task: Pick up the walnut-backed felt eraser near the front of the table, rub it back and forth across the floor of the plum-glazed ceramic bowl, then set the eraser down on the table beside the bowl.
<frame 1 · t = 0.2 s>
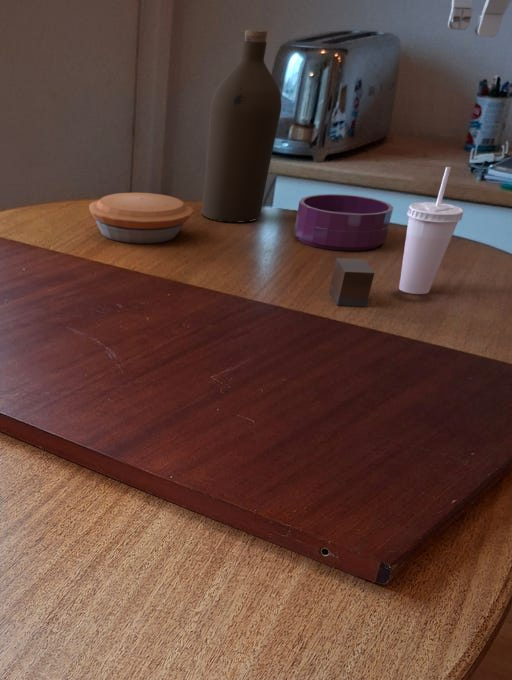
hand: (470, 32, 87), 28 cm above the table, tool pointing down, fingers open, 8 cm apart
bowl: (338, 240, 132), on the table
pie: (138, 235, 133), on the table
eraser: (347, 298, 109), on the table
smoothie: (413, 291, 113), on the table
olive oil: (230, 217, 143), on the table
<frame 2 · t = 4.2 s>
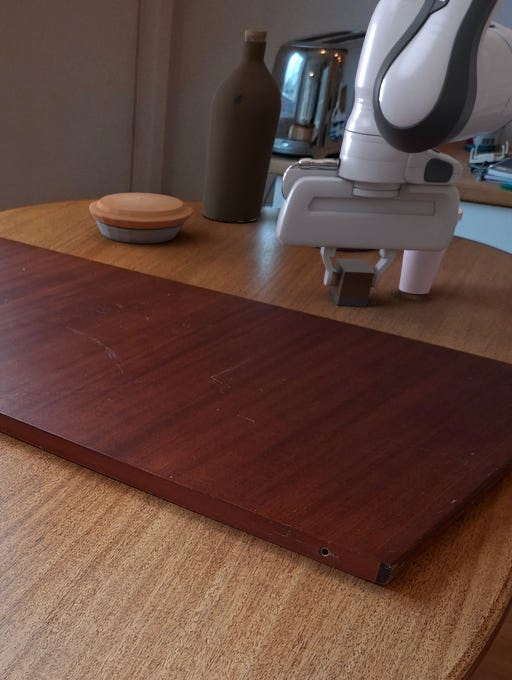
hand: (350, 285, 108), 2 cm above the table, tool pointing down, fingers closed on eraser, 3 cm apart
eraser: (347, 298, 109), on the table, touching gripper
everything else where it was.
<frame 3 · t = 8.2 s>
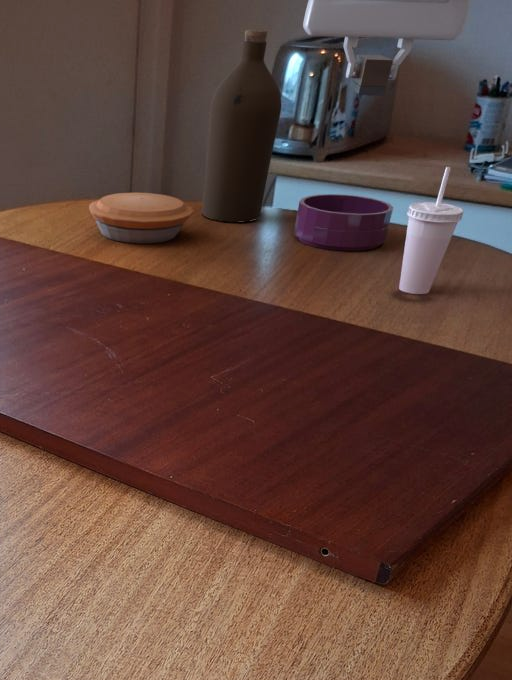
hand: (370, 78, 119), 21 cm above the table, tool pointing down, fingers closed on eraser, 3 cm apart
eraser: (366, 92, 120), point 19 cm above the table, touching gripper
everything else where it was.
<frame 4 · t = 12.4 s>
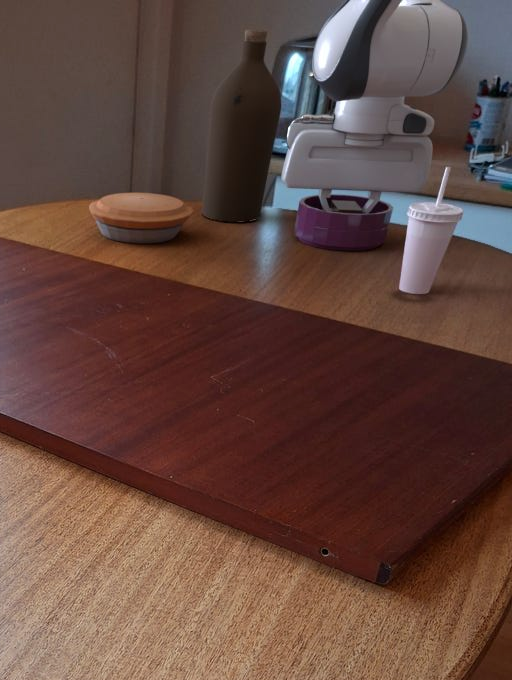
hand: (343, 222, 130), 2 cm above the table, tool pointing down, fingers closed on eraser, 3 cm apart
eraser: (340, 234, 131), point 1 cm above the table, touching gripper
everything else where it was.
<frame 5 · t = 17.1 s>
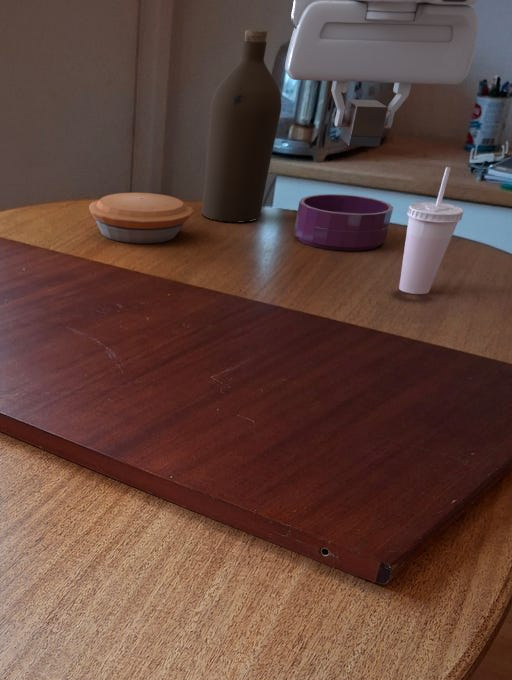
hand: (362, 127, 104), 18 cm above the table, tool pointing down, fingers closed on eraser, 3 cm apart
eraser: (358, 142, 105), point 16 cm above the table, touching gripper
everything else where it was.
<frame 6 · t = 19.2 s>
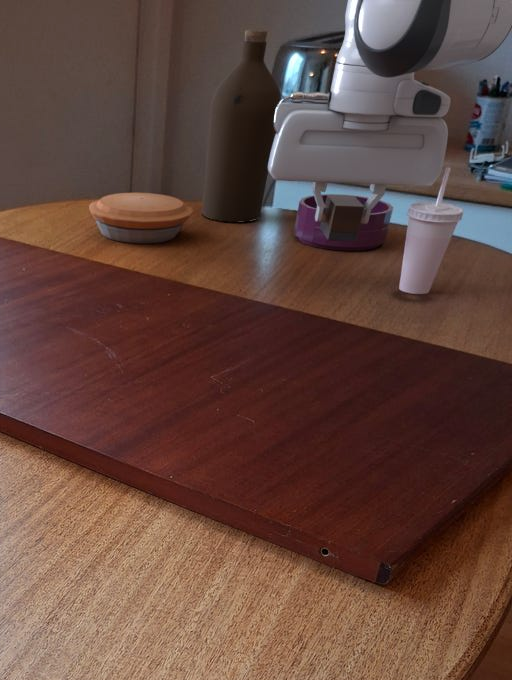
hand: (341, 221, 110), 7 cm above the table, tool pointing down, fingers closed on eraser, 3 cm apart
eraser: (337, 235, 111), point 6 cm above the table, touching gripper
everything else where it was.
when the fingers open (1 cm above the table, at t = 20.9 s): eraser stays where it is, on the table.
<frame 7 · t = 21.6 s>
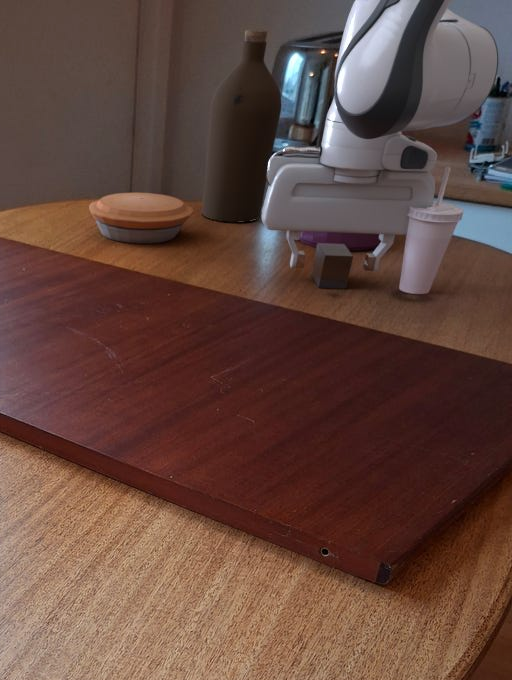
hand: (332, 268, 114), 2 cm above the table, tool pointing down, fingers open, 8 cm apart
eraser: (328, 281, 115), on the table
everything else where it was.
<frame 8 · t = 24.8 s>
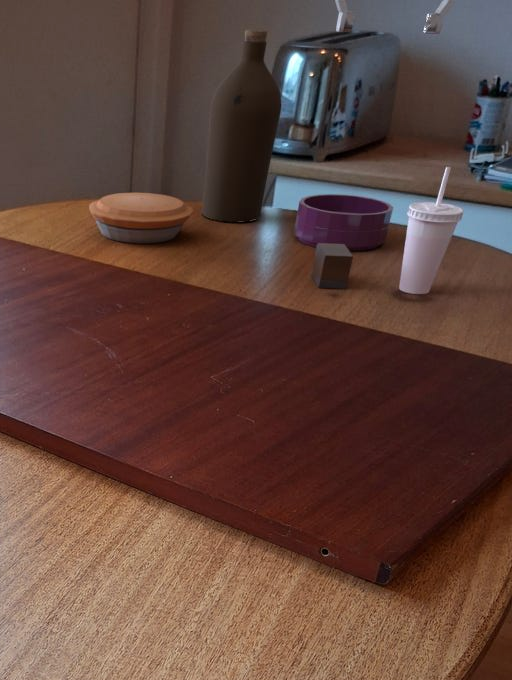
hand: (387, 32, 97), 27 cm above the table, tool pointing down, fingers open, 8 cm apart
nothing on the table moved.
at the end: eraser inside the target area on the table beside the bowl (0.4 cm from its centre), on the table; eraser tilted 0°; the gripper is holding nothing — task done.
